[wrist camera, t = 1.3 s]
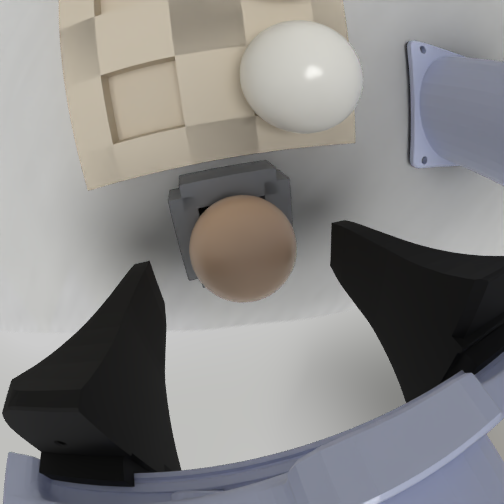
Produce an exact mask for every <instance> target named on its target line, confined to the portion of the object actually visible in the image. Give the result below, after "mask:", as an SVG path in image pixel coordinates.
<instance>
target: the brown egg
mask: <svg viewBox="0 0 504 504" xmlns="http://www.w3.org/2000/svg"><path fill="white" fill-rule="evenodd" d="M189 254H190V260H191V264H192V267H193V270H194V272H195V274H196V276H197V277H198V279H199V280H200V282H201V283H202V284H203V285H204V286H205V287H206V288H207V289H208V290H209V291H211V292H212V293H213V294H215V295H217V296H218V297H220V298H223V299H225V300H229V301H233V302H242V303H244V302H253V301H257V300H261V299H263V298H266V297H268V296H269V295H271V294H273V293H274V292H276V291H277V290H278V289H279V288H280V287H281V286H282V285H283V284H284V283H285V282H286V280H287V279H288V277H289V276H290V274H291V272H292V270H293V267H294V264H295V260H296V255H297V243H296V237H295V233H294V230H293V228H292V225H291V223H290V222H289V220H288V219H287V217H286V215H285V214H284V213H283V212H282V211H281V210H280V209H279V208H278V207H276V206H275V205H274V204H272V203H271V202H269V201H267V200H265V199H262V198H260V197H256V196H251V195H235V196H230V197H226V198H224V199H221V200H219V201H217V202H215V203H214V204H212V205H211V206H210V207H208V208H207V209H206V210H205V211H204V212H203V213H202V215H201V216H200V217H199V218H198V220H197V222H196V223H195V226H194V228H193V230H192V233H191V237H190V244H189Z"/></svg>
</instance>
